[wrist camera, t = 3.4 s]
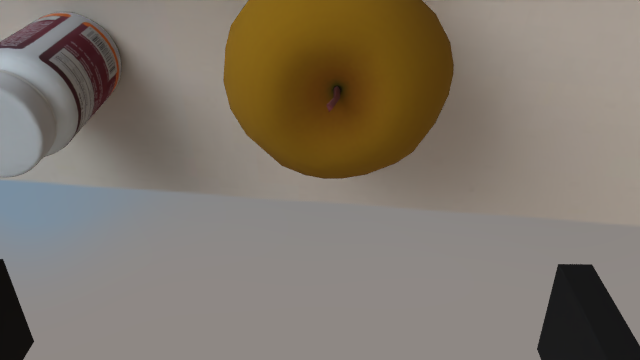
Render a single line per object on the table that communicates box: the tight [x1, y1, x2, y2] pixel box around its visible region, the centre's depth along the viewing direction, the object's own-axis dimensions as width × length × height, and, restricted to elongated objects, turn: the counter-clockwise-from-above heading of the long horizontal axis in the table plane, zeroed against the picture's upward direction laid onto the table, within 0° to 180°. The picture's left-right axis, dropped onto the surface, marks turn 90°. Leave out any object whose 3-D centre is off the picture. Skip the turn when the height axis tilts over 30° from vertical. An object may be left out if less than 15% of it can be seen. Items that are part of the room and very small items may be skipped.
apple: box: [224, 0, 454, 179], centre depth 24 cm, size 9×9×9 cm
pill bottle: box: [0, 12, 121, 177], centre depth 25 cm, size 5×5×8 cm
